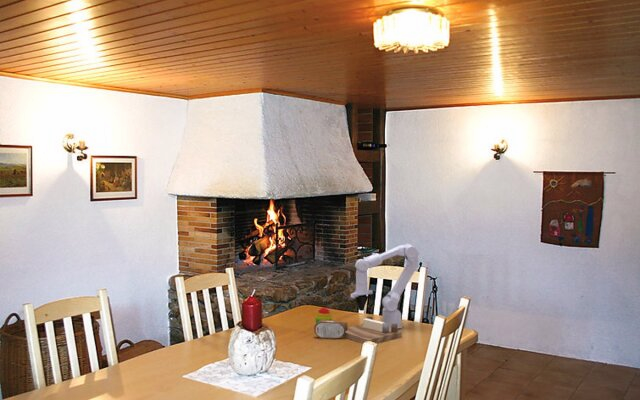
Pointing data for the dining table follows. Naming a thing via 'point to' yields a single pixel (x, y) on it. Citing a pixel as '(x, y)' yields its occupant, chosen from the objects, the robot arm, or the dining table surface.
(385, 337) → the stool seat
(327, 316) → the decorative egg
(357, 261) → the robot arm
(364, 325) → the folding leg
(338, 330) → the tin
